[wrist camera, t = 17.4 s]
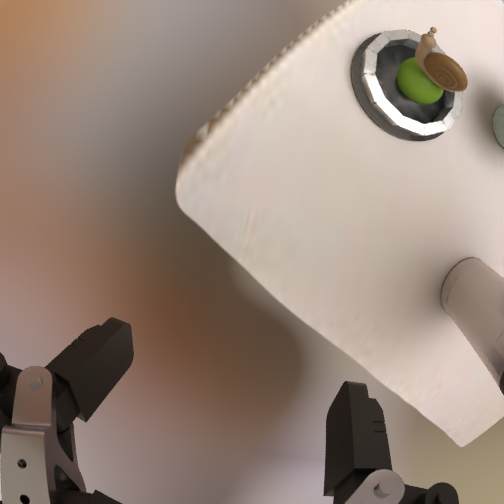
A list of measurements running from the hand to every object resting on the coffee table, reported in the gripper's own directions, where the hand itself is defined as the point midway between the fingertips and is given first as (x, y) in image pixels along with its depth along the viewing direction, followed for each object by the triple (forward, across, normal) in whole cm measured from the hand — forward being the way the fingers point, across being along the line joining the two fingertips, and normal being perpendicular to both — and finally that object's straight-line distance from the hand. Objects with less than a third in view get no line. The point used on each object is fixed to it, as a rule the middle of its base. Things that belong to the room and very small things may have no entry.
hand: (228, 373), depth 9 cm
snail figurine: (+24, -11, -20) cm, 33 cm away
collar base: (+25, -11, -20) cm, 34 cm away
